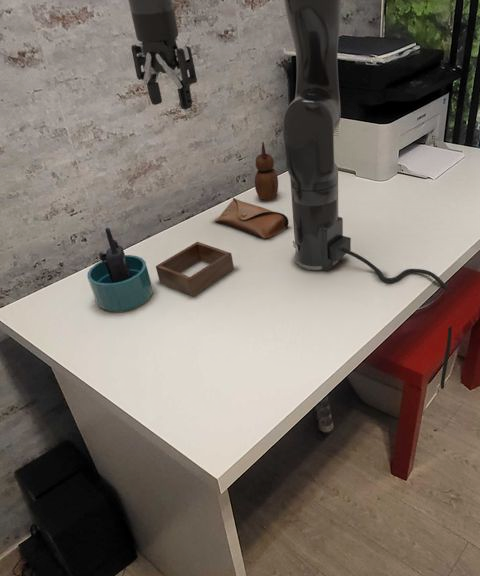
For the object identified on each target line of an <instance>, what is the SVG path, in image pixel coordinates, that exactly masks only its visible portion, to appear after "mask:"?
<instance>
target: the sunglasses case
mask: <svg viewBox="0 0 480 576" xmlns="http://www.w3.org/2000/svg"><path fill="white" fill-rule="evenodd" d="M214 222H215V223H220V224H222V225H223V224H224V225H227V226H229V227H231V228H234V229H238V230H240V231H243V232H245V233H248V234H250V235H253V236H256V237H260V238H262V239H269V238H272V237H275V236H277V235H279V234H281V233H283V232H284V231H286V230H287V229H288V227H289V222H290V221H289V218H288V217H287V216H286V215H285V214H284V213H282V212H278V211H274V210H271V209H267V208H265V207H262V206H259V205H256V204H252V203H250V202H246V201H242V200H239V199H237V198H235V197H232V200H231V202H230V203H229V204H228V205H227V206H226V207H225V208H224V210H223V211H222V213H221V214H220V215H219V217H218V218H217V219H215V220H214Z"/></svg>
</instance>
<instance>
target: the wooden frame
mask: <svg viewBox="0 0 480 576" xmlns="http://www.w3.org/2000/svg"><path fill="white" fill-rule="evenodd" d="M199 261H200V262H201V261H202V262H205V263H208V265H207V266H205V267H204V268H203V267H202V268H201V269H200V270H198V271H197V272H195V273H194V274H193V275H191V276H189V275H186V274H184V273H182V272H183V271H185V270H187V269H189V268H190V267H192V266H194V265H195V264H196V263H198V262H199ZM234 270H235V267H234V260H233V255H232V252H229V251H227V250H224V249H221V248H217V247H215V246H212V245H208V244H206V243H203V242H200V241H196V242H194V243H192V244H191V245H189V246H187V247H185V248H184V249H182V250H181V251H179V252H177V253H175V254H173V255H172V256H170V257H168V258H167V259H165V260H164V261H162V262H159V263H158V264H157V265H155V271H156V273H157V277H158V281H159V283H160V284H162V285H165V286H167V287H169V288H171V289H174V290H176V291H179V292H182V293H184V294H186V295H188V296H191V297H196V296H197V295H199V294H200V293H202V292H203V291H205V290H206V289H208V288H209V287H210V286H212V285H214V283H217V282H218V281H220V280H221V279H222V278H224V277H225V276H227V275H228V274H230V273H231V272H234Z"/></svg>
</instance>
